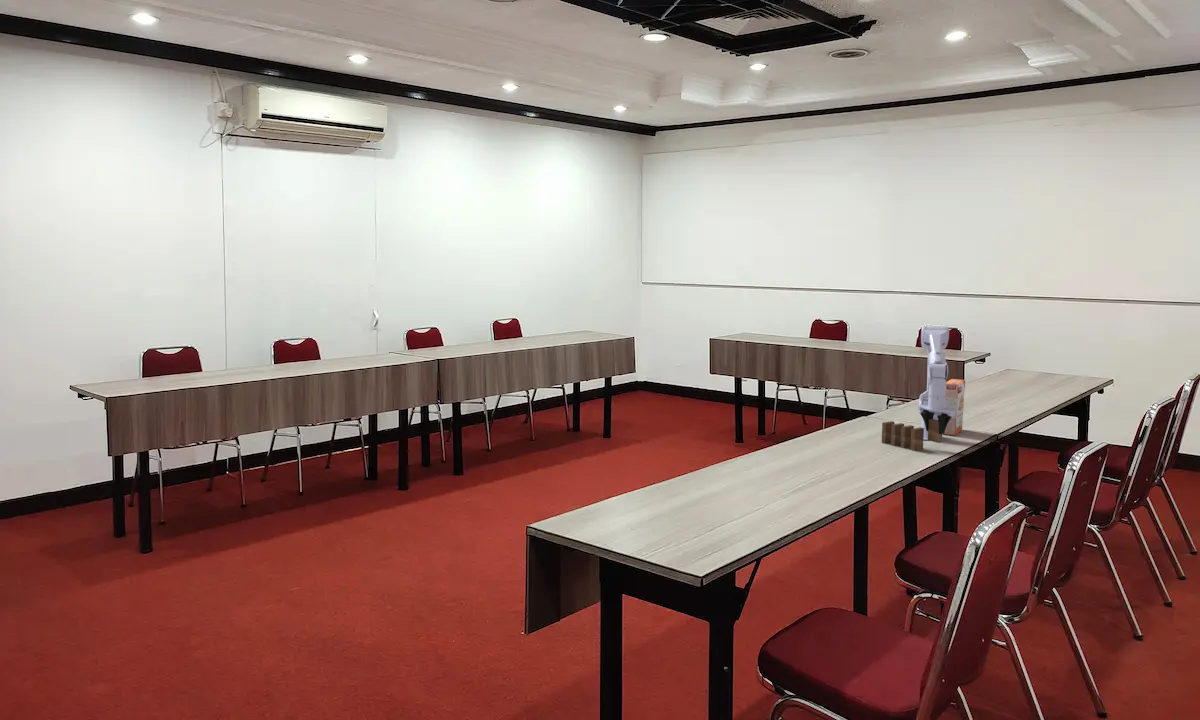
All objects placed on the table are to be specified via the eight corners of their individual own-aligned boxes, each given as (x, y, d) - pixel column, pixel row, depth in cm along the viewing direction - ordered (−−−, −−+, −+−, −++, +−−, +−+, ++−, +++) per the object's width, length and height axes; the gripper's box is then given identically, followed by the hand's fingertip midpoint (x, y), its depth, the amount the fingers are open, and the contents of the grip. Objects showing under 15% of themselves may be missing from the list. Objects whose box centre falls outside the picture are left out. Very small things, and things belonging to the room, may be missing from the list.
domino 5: (930, 439, 317) (931, 418, 316) (941, 442, 313) (943, 421, 311) (927, 440, 316) (928, 419, 315) (939, 442, 312) (940, 421, 311)
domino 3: (900, 447, 319) (901, 426, 318) (909, 445, 321) (910, 425, 320) (904, 448, 318) (904, 427, 316) (913, 446, 320) (913, 425, 319)
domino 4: (910, 450, 315) (911, 428, 314) (919, 448, 318) (920, 427, 317) (914, 450, 314) (914, 429, 313) (923, 449, 316) (923, 428, 315)
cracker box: (956, 436, 337) (959, 384, 334) (940, 434, 340) (943, 383, 337) (963, 429, 348) (966, 379, 345) (947, 428, 351) (950, 378, 349)
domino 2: (890, 445, 323) (891, 424, 322) (899, 443, 325) (900, 423, 324) (894, 446, 321) (895, 425, 320) (903, 444, 324) (904, 423, 323)
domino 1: (881, 442, 327) (882, 422, 325) (890, 441, 329) (891, 421, 328) (884, 443, 325) (885, 423, 324) (893, 442, 328) (894, 421, 327)
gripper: (913, 394, 316) (911, 429, 318) (946, 400, 304) (944, 437, 306) (925, 392, 320) (924, 427, 322) (959, 398, 307) (957, 434, 309)
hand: (935, 432), depth 314 cm, fingers closed on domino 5, 5 cm apart
